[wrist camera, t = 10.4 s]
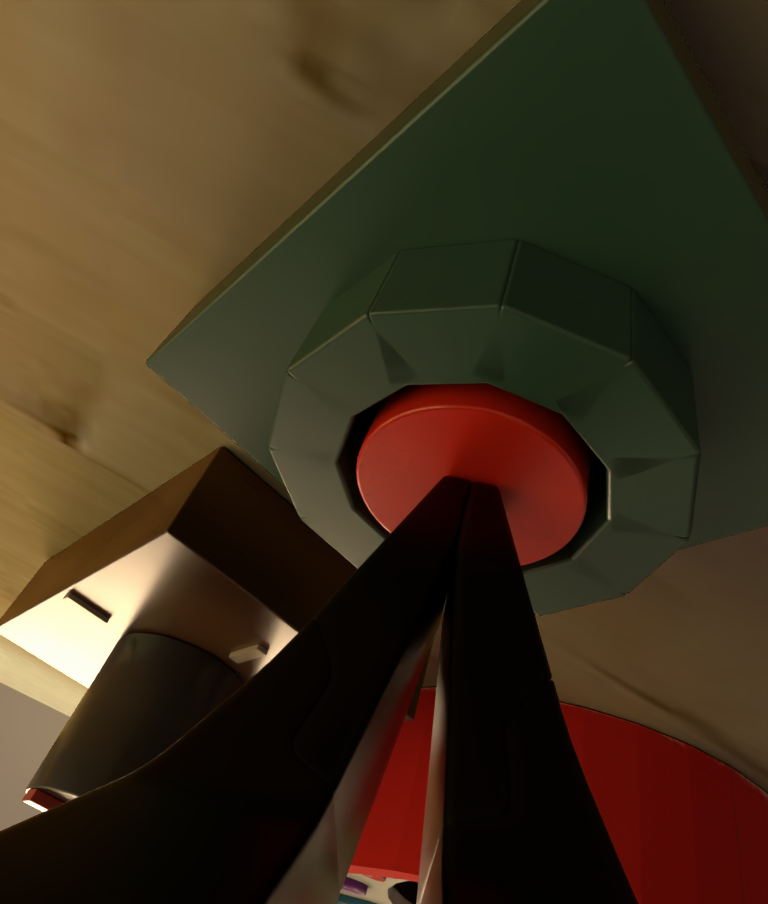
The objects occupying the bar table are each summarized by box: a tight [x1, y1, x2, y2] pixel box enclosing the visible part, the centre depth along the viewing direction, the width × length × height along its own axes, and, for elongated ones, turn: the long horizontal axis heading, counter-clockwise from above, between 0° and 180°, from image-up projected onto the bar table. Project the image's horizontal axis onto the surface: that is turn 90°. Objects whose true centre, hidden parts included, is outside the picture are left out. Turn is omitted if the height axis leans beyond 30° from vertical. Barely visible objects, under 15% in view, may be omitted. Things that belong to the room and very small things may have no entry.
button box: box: [146, 0, 768, 616], centre depth 12 cm, size 10×9×4 cm
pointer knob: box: [23, 633, 244, 812], centre depth 19 cm, size 4×4×5 cm
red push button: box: [356, 383, 591, 566], centre depth 11 cm, size 4×4×2 cm
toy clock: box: [337, 687, 768, 904], centre depth 27 cm, size 20×6×20 cm
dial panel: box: [0, 447, 433, 722], centre depth 22 cm, size 12×9×3 cm
